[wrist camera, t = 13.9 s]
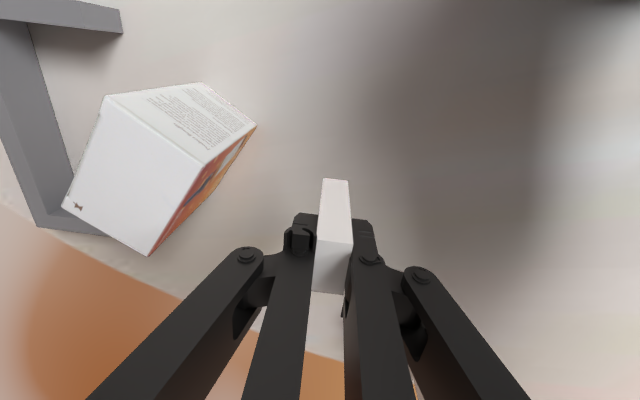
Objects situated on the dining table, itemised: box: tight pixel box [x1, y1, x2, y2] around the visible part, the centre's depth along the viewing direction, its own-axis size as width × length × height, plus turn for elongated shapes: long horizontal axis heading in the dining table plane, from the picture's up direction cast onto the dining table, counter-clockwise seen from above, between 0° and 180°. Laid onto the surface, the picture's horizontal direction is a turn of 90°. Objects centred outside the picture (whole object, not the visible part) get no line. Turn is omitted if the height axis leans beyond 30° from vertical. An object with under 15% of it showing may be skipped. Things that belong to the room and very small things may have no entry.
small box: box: [61, 82, 257, 257], centre depth 20 cm, size 8×6×10 cm
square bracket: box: [0, 0, 123, 237], centre depth 23 cm, size 18×9×4 cm, turn 174°
